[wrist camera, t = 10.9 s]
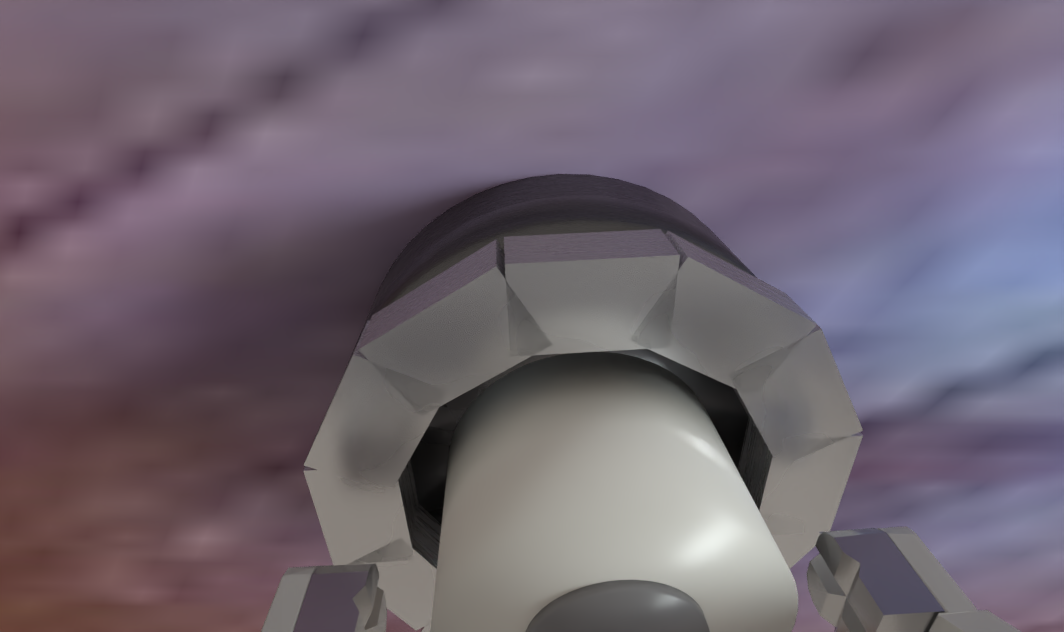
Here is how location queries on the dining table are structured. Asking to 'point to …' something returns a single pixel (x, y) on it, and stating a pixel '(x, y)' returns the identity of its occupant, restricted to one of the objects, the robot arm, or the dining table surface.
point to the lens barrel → (559, 328)
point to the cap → (601, 510)
